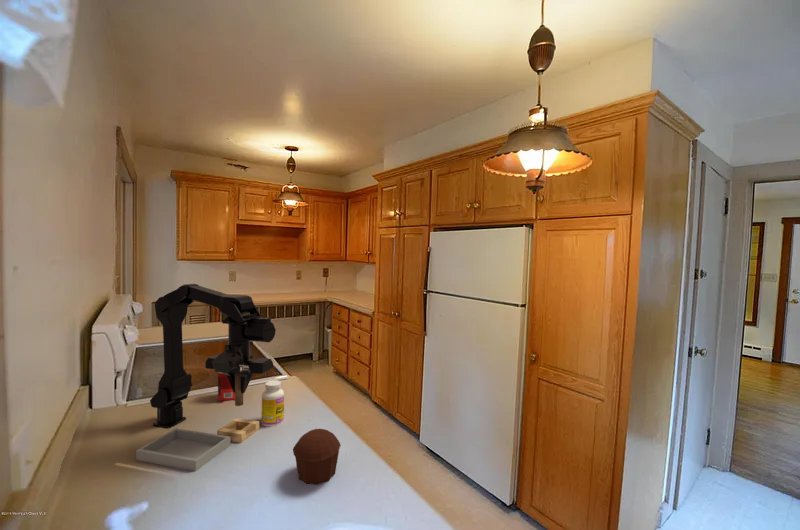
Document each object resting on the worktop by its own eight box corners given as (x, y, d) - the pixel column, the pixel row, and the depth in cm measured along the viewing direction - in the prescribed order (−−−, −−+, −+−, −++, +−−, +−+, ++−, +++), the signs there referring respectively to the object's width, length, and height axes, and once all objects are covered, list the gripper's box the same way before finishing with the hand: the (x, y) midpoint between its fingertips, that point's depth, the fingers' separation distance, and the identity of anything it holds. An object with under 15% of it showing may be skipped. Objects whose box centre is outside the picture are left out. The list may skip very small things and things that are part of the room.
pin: (233, 405, 103) (233, 374, 103) (238, 402, 106) (238, 372, 105) (239, 406, 103) (240, 375, 103) (244, 403, 105) (245, 372, 105)
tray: (136, 462, 91) (136, 450, 91) (176, 438, 102) (176, 428, 102) (196, 473, 87) (196, 461, 87) (230, 447, 98) (230, 436, 98)
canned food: (246, 397, 133) (246, 367, 132) (225, 404, 126) (226, 373, 126) (234, 392, 137) (234, 363, 136) (213, 399, 130) (213, 369, 130)
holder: (217, 440, 102) (217, 430, 102) (236, 427, 109) (236, 418, 109) (241, 444, 100) (241, 434, 100) (259, 431, 108) (259, 421, 107)
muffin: (301, 459, 94) (302, 421, 93) (343, 460, 93) (344, 422, 93) (285, 488, 82) (286, 445, 81) (334, 490, 81) (334, 447, 81)
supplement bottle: (276, 429, 109) (277, 387, 108) (257, 427, 110) (257, 385, 110) (287, 419, 115) (288, 380, 115) (269, 417, 117) (269, 378, 116)
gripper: (190, 343, 98) (190, 400, 99) (249, 348, 94) (249, 407, 94) (219, 335, 109) (219, 385, 109) (274, 339, 105) (273, 392, 105)
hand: (239, 392), depth 104 cm, fingers closed on pin, 2 cm apart
